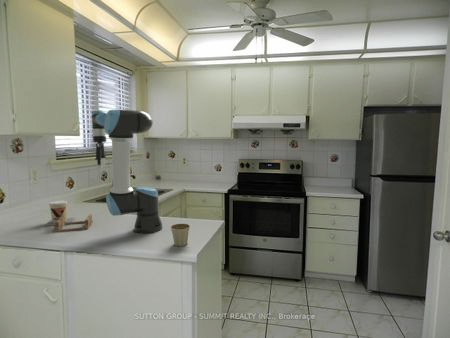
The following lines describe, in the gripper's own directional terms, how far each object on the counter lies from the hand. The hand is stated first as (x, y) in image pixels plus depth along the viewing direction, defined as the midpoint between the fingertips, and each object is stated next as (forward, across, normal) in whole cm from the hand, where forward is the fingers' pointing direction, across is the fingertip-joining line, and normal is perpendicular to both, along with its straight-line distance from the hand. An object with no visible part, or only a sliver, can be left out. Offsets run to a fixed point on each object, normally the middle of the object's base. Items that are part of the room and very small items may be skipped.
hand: (101, 169), depth 189 cm
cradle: (+31, -20, +13) cm, 39 cm away
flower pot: (+31, -64, -43) cm, 83 cm away
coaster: (+31, -8, +24) cm, 40 cm away
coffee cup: (+30, -8, +24) cm, 39 cm away
